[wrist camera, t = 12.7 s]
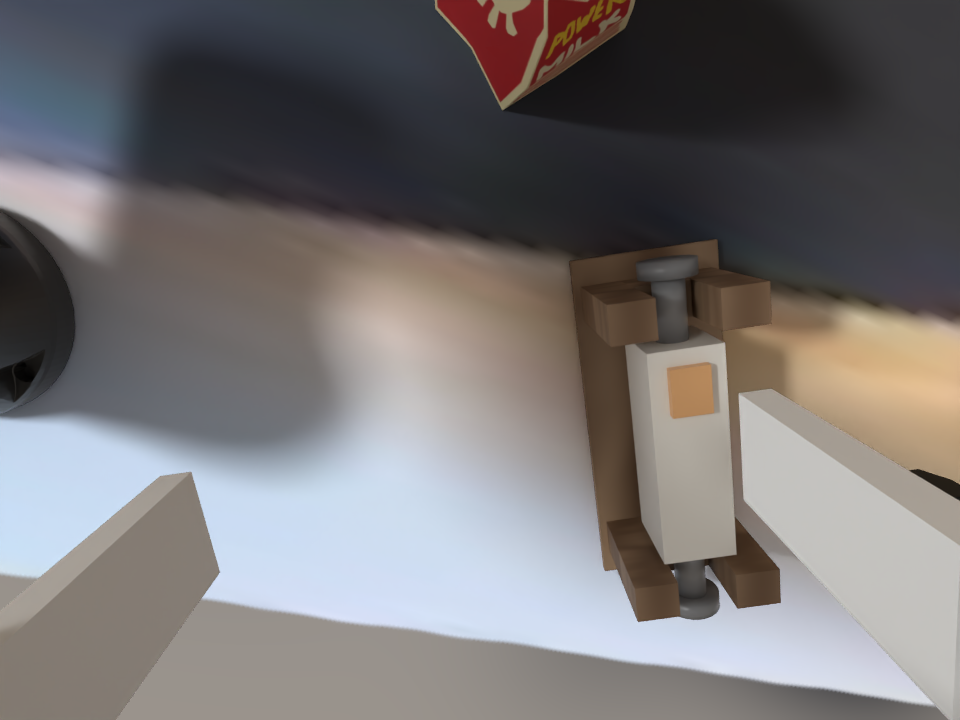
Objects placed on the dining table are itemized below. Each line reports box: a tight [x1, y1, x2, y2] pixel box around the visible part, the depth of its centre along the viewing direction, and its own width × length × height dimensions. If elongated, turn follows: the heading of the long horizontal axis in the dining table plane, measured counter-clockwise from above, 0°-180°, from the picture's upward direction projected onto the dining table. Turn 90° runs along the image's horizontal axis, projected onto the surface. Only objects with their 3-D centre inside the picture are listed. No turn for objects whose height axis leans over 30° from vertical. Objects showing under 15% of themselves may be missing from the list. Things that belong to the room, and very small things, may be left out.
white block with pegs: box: [625, 255, 737, 620], centre depth 39 cm, size 5×24×6 cm, turn 9°
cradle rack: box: [569, 239, 781, 622], centre depth 40 cm, size 10×24×9 cm, turn 8°
